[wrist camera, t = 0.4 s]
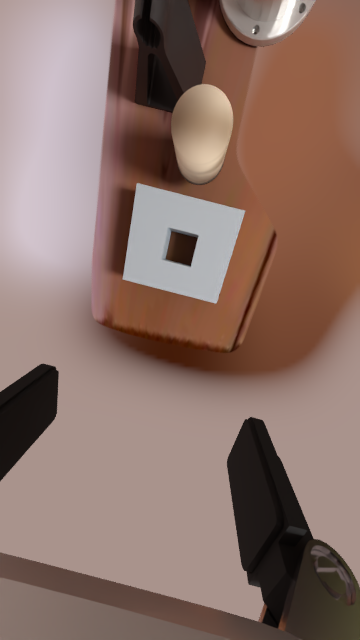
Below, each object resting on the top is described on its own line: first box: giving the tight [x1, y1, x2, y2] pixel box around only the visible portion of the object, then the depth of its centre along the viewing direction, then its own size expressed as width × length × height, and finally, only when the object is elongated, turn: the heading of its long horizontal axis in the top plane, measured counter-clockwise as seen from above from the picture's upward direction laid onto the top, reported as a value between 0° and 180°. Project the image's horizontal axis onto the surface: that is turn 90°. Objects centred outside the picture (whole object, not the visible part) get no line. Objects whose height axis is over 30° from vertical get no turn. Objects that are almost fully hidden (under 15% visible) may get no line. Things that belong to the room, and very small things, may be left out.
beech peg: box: [171, 84, 233, 185], centre depth 26 cm, size 6×6×11 cm
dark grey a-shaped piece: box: [133, 0, 206, 113], centre depth 22 cm, size 9×6×12 cm, turn 76°
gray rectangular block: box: [123, 183, 245, 303], centre depth 32 cm, size 14×16×4 cm
